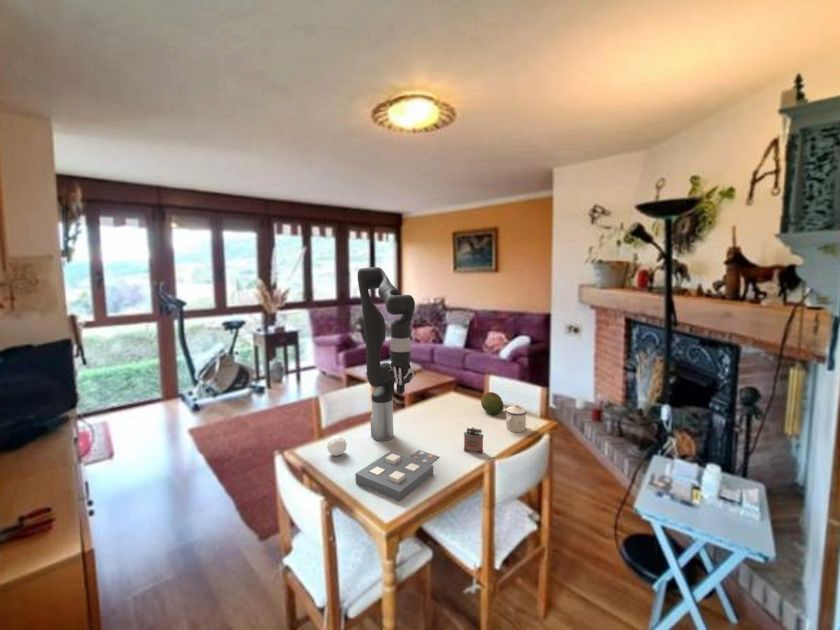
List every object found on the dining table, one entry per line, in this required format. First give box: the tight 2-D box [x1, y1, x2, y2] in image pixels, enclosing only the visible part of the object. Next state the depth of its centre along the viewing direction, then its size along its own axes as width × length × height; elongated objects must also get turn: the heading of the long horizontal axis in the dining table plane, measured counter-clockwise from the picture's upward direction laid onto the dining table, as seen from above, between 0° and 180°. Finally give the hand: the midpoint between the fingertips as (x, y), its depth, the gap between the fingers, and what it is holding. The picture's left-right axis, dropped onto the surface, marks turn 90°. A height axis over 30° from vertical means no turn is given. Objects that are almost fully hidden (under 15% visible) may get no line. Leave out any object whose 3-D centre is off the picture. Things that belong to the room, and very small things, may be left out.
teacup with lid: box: [505, 403, 527, 433], centre depth 184 cm, size 12×9×12 cm
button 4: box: [389, 471, 405, 484], centre depth 139 cm, size 4×4×3 cm
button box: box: [354, 450, 434, 502], centre depth 145 cm, size 20×20×4 cm
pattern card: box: [408, 449, 440, 465], centre depth 160 cm, size 10×8×1 cm
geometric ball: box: [326, 435, 348, 457], centre depth 163 cm, size 8×8×8 cm
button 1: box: [386, 454, 401, 465], centre depth 151 cm, size 4×4×3 cm
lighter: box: [463, 426, 484, 455], centre depth 164 cm, size 8×3×10 cm, turn 69°
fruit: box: [480, 391, 504, 415], centre depth 205 cm, size 12×13×10 cm
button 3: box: [369, 467, 385, 476], centre depth 144 cm, size 4×4×3 cm
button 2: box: [405, 463, 420, 472], centre depth 146 cm, size 4×4×3 cm
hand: (400, 393), depth 151 cm, fingers closed
